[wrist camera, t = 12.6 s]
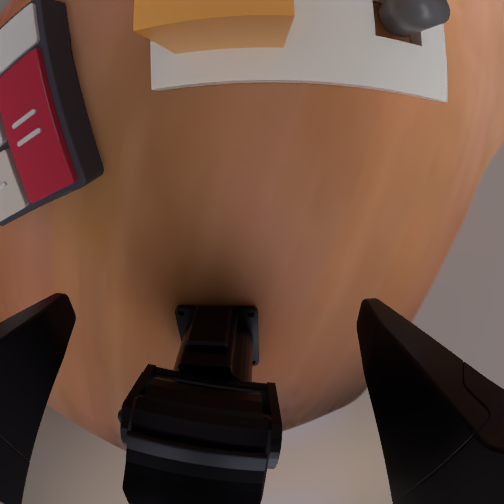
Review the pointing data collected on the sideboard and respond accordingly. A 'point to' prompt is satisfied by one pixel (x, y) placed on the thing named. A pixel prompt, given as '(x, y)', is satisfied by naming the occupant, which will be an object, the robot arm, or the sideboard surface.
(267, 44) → the light orange cube
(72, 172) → the calculator
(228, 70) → the panel
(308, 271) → the sideboard surface
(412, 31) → the breaker
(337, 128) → the sideboard surface
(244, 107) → the sideboard surface
